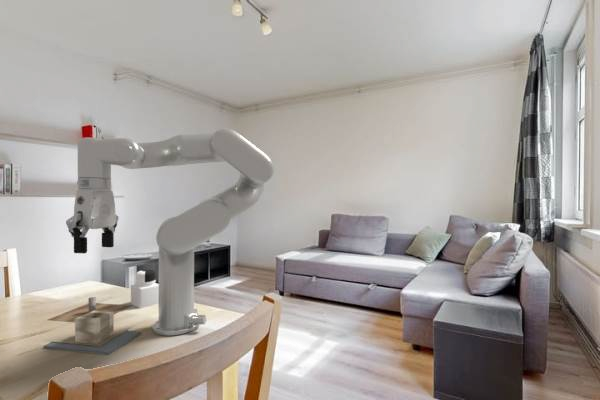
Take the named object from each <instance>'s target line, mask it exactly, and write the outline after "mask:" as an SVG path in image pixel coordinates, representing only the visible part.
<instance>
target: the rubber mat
mask: <svg viewBox="0 0 600 400" xmlns="http://www.w3.org/2000/svg"><path fill="white" fill-rule="evenodd" d="M141 334H142V331H140V330H139V331H136V330H125V331H123V332H122V333H120V334H119V335H117V336H115V337H113V338H111V339H110V340H108V341H107V342H105V343H103V344H102V345H91V344H80V343H71V342H70V343H68V342H59V341H58V342H57V341H50V342H48V343H46V344H44V345H43V349H48V350H57V351H58V350H59V351H69V352H77V353H78V352H79V353H87V354H90V353H91V354H99V355H110V354H112V353H113V352H115V351H116V350H118V349H120V348H121V347H122V346H124V345H125V344H128V343H129V342H130V341H132V340H133V339H135V338H137V337H138V336H140V335H141Z"/></svg>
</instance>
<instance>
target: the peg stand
mask: <svg viewBox="0 0 600 400" xmlns="http://www.w3.org/2000/svg"><path fill="white" fill-rule="evenodd" d="M132 306H133V305H132V304H129V305H128V304H127V305H126V304H116V303H115V304H114V303H104V302H103V303H100V302H97V297H95V296H92V297H91V296H90V297H88V303H86V304H83V305H81V306H78V307H75V308H73V309H71V310H68V311H66V312H63V313H60V314H59V315H56V316H53V317H51V318H48V319H47V321H53V322H64V323H65V322H66V323H75V318H78V317H80V316H82V315H85V314H87V313H89V312H92V311H107V312H114V315H116V314H118V313H120V312H123V311H124V310H126V309H128V308H130V307H132Z"/></svg>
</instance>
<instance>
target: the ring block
mask: <svg viewBox="0 0 600 400" xmlns="http://www.w3.org/2000/svg"><path fill="white" fill-rule="evenodd" d="M114 315H115V314H114V312H107V311H92V312H89V313H87V314H85V315H82V316H80V317H78V318H75V322H74V339H75V341H74V342H75V343H84V344H98V343H100V342H101V341H104V340H106V339H107V338H109V337H111V336H112V335H114V330H115V329H114V328H115V327H114V317H115V316H114Z"/></svg>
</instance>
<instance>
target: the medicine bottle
mask: <svg viewBox="0 0 600 400" xmlns="http://www.w3.org/2000/svg"><path fill="white" fill-rule="evenodd" d="M156 273H157V272H156V270H153V269H142V270H139V271H137V272H136V273H135V276H136V277H135V283H134V284H131V286H130V305H132V306H135V307H137V309H138V308H139V309H143V308H147V307H151V306H154V305H159V283H156V281H157V280H156V278H157V277H156Z"/></svg>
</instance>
